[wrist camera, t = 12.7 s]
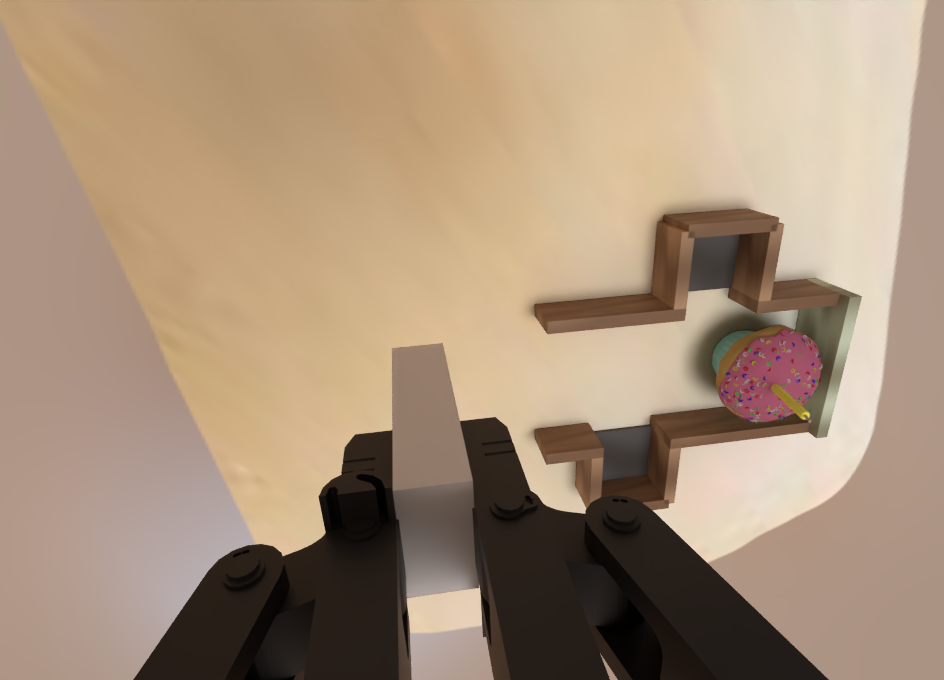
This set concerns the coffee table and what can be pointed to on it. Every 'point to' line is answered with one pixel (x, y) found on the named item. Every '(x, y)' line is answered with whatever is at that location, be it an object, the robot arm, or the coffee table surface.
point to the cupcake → (767, 373)
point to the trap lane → (675, 273)
